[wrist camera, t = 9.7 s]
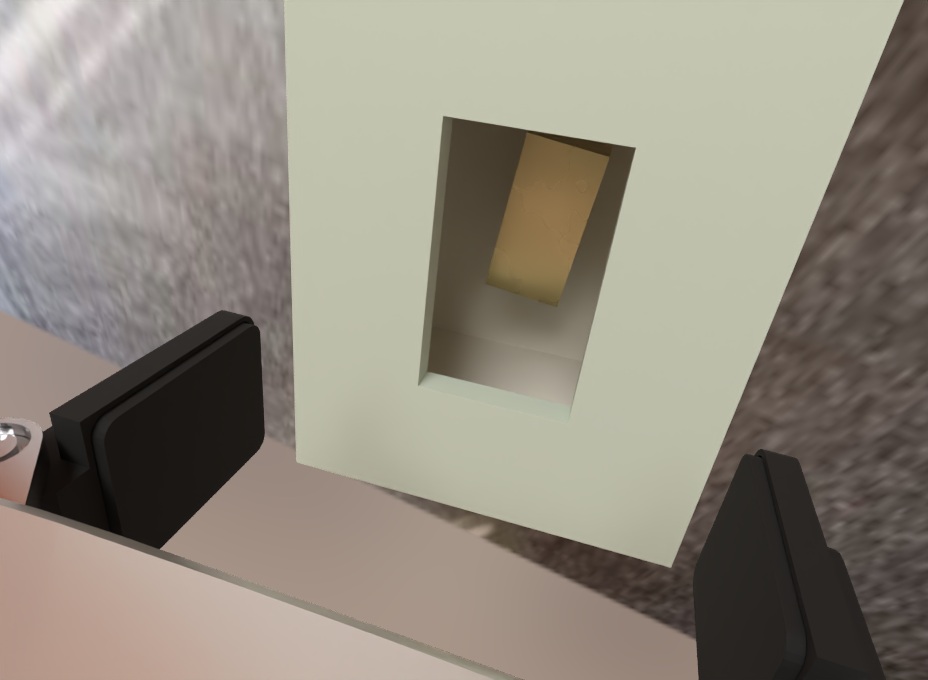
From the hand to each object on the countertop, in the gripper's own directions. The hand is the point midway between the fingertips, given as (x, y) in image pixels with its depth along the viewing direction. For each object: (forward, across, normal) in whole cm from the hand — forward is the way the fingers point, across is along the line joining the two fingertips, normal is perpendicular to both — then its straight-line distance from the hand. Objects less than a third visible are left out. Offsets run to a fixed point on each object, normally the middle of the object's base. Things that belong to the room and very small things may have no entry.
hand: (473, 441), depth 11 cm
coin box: (+19, +1, -1) cm, 19 cm away
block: (+18, +1, -1) cm, 18 cm away
